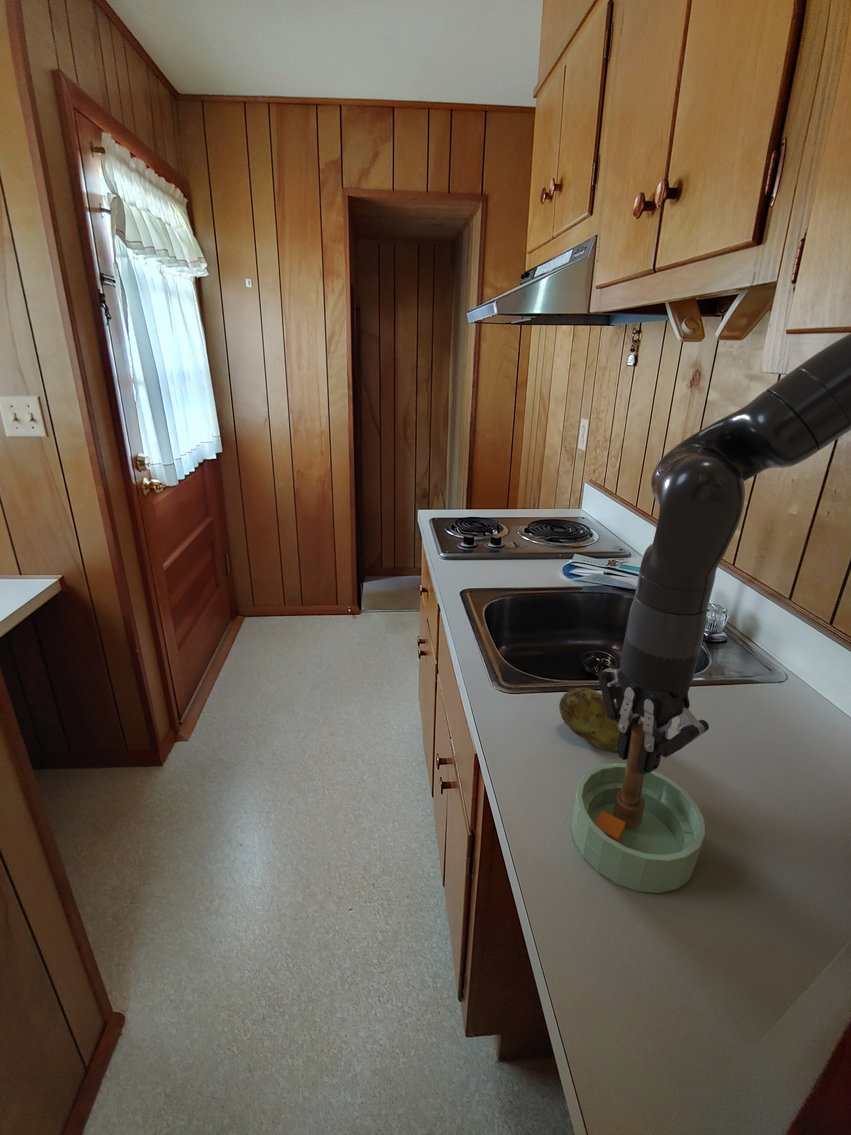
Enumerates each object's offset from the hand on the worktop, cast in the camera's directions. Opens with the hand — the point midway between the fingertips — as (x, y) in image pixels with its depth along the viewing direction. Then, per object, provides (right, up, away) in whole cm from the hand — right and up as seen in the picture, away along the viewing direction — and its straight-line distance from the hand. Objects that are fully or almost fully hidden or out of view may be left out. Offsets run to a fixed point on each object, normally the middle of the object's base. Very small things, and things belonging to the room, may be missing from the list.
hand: (635, 762), depth 66 cm
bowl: (0, -11, +2) cm, 11 cm away
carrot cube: (-3, -10, +2) cm, 11 cm away
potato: (+2, -4, +20) cm, 20 cm away
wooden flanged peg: (0, -8, +4) cm, 9 cm away
